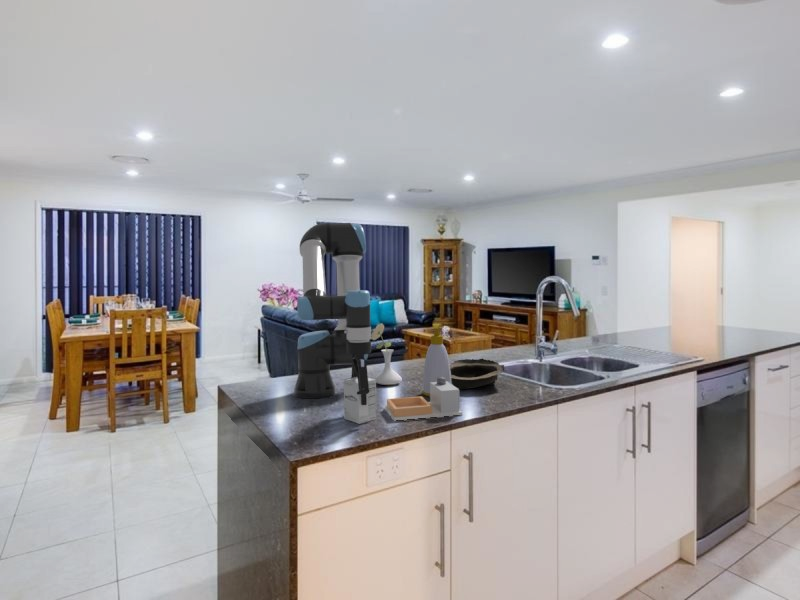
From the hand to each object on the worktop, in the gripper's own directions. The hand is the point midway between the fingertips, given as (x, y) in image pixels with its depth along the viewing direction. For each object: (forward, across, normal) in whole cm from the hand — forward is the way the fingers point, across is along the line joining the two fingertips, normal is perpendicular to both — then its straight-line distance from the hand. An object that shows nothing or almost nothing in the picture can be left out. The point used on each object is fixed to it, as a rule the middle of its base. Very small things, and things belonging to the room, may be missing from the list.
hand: (360, 409), depth 146 cm
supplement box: (+4, 0, 0) cm, 4 cm away
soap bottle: (+3, -22, +32) cm, 39 cm away
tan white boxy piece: (+3, -2, +20) cm, 21 cm away
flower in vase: (+3, -43, +17) cm, 46 cm away
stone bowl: (+4, -30, +49) cm, 58 cm away
